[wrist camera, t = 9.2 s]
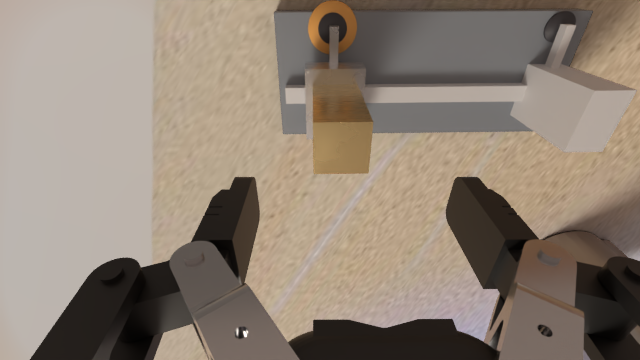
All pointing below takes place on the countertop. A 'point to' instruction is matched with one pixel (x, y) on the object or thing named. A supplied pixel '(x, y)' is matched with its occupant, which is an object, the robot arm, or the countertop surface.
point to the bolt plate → (457, 71)
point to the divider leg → (337, 113)
